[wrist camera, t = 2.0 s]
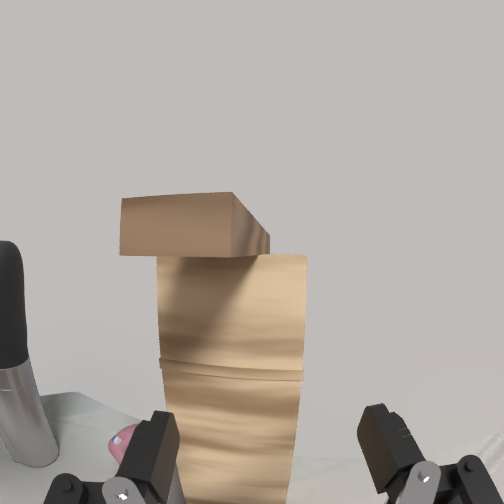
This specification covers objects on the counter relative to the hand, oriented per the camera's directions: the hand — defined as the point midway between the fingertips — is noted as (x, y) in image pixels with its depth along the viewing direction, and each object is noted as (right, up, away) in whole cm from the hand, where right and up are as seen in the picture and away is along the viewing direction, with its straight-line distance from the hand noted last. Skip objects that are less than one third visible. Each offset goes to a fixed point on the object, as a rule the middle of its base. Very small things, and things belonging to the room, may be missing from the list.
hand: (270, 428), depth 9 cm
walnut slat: (-2, +7, +10) cm, 12 cm away
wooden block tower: (-2, -25, +13) cm, 28 cm away
